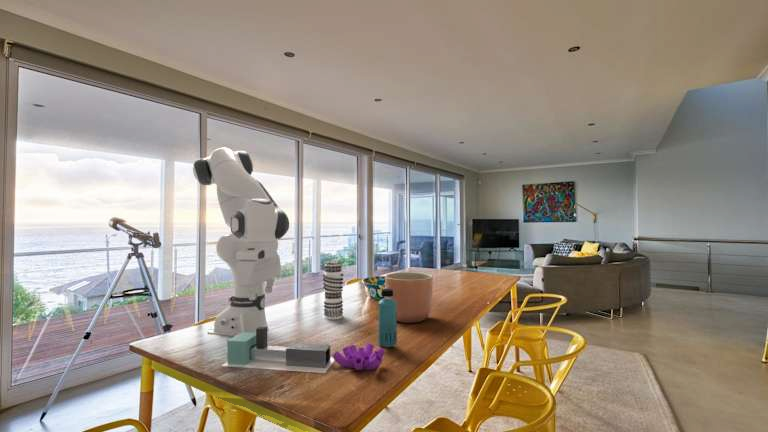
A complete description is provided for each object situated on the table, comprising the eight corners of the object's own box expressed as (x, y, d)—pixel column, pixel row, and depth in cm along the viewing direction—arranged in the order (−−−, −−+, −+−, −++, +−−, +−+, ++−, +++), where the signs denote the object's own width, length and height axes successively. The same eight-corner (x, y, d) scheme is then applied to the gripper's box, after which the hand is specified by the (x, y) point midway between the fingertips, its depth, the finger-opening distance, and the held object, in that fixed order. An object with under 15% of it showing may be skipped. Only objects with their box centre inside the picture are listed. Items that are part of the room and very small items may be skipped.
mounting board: (221, 369, 106) (221, 365, 106) (242, 354, 117) (242, 351, 117) (324, 376, 101) (324, 372, 101) (336, 360, 112) (336, 357, 112)
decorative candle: (333, 312, 168) (332, 259, 168) (348, 316, 162) (347, 260, 162) (318, 317, 160) (318, 261, 160) (333, 320, 155) (333, 263, 155)
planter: (440, 317, 160) (440, 274, 160) (419, 329, 142) (419, 281, 142) (400, 310, 171) (400, 270, 171) (376, 321, 153) (375, 277, 153)
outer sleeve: (286, 365, 106) (286, 348, 106) (293, 358, 111) (293, 342, 111) (325, 368, 104) (324, 350, 104) (330, 361, 109) (330, 344, 109)
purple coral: (349, 371, 112) (362, 341, 116) (384, 386, 102) (397, 353, 106) (326, 357, 105) (341, 327, 110) (361, 372, 95) (376, 338, 100)
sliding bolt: (240, 357, 110) (240, 328, 110) (245, 354, 113) (245, 325, 113) (302, 361, 106) (302, 331, 106) (306, 357, 109) (306, 328, 109)
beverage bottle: (383, 352, 118) (383, 292, 118) (374, 346, 124) (374, 288, 124) (400, 349, 121) (400, 290, 121) (391, 343, 127) (390, 286, 127)
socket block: (227, 363, 108) (227, 340, 108) (242, 353, 115) (242, 332, 115) (245, 365, 107) (245, 341, 107) (259, 354, 114) (259, 332, 114)
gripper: (267, 247, 121) (267, 288, 121) (232, 254, 101) (232, 303, 101) (285, 248, 120) (285, 289, 120) (253, 254, 100) (253, 304, 100)
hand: (261, 296), depth 110 cm, fingers open, 8 cm apart
